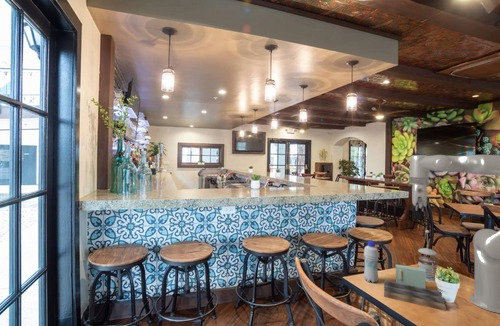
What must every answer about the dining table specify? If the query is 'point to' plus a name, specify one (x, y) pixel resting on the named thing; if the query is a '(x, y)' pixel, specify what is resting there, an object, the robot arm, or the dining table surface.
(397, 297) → the bottom track
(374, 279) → the bottle
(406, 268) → the door panel
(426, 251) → the french press
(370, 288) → the dining table surface
